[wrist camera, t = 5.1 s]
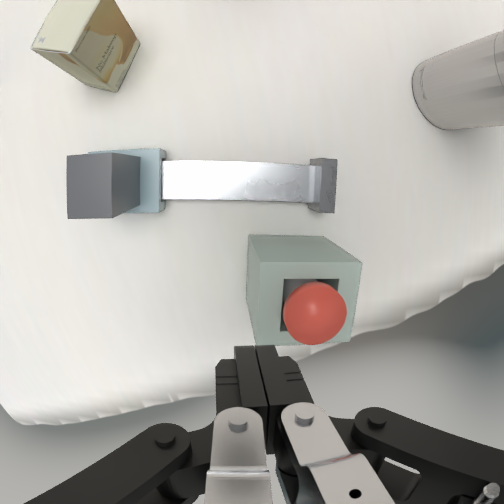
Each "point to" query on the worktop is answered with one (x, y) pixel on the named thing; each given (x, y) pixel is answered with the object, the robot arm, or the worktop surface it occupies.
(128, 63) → the skincare box
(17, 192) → the worktop surface
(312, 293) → the red button
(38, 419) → the worktop surface
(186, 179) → the rail
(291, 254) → the button housing
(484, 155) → the worktop surface
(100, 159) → the carriage
